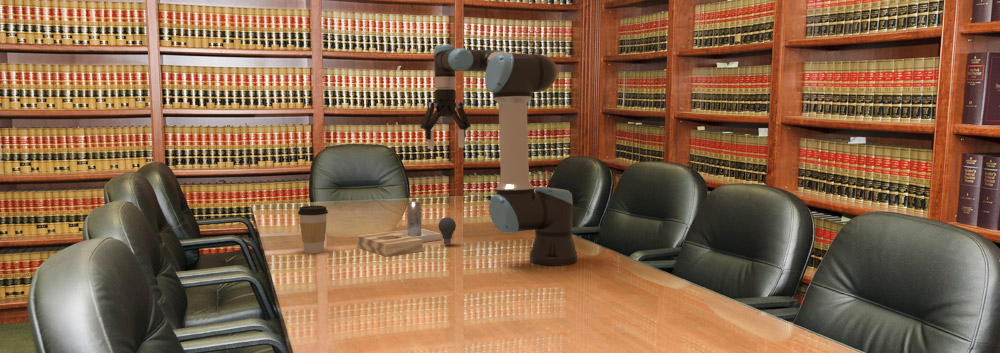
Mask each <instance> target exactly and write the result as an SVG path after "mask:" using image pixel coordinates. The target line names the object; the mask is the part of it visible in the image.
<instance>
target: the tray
mask: <svg viewBox="0 0 1000 353" xmlns="http://www.w3.org/2000/svg"><path fill="white" fill-rule="evenodd" d="M394 232H397V233H401V234H404V235H408V229H405V230H403V229H402V230H396V231H395V230H394ZM415 238H419V239H422V244H424V243H430V241H431V242H438V241H442V233H441V232H436V231H432V230H428V229H425V228H421V236H415ZM437 240H438V241H437ZM423 242H424V243H423Z"/></svg>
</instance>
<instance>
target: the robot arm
mask: <svg viewBox="0 0 1000 353" xmlns="http://www.w3.org/2000/svg"><path fill="white" fill-rule="evenodd" d="M433 61H434V63H433V64H434V88H435V91H434V100H435V102H428V103H427V110H426V112H425V114H424V117H423V120H422V122H421V125H420V129H422V130H424V131H425V139H426V140H427V150H434V149H435V147H434V146H435V145H434V144H435V142H434V141H435V140H434V130H432V129H433V127H435V125H436V123H437V122H438V120H440V119H439V118H440V117H442V116H450V117H451V118H452V119H453V120H454V122H455V123H456V125H457V126H458V130H457V132H458V133H457V136H458V137H457V138H458V140H457V141H458V144H457V146H458V148H465V139H466V137H467V132H466V131H467V130H468V128H471V123H470V121H469V119H468V117H467V115H466V112H465V109H464V104H463V102H461V101H458V102H456V99H457V91H456V87H457V84H456V83H457V81H456V79H457V78H456V72H485V74H484V75H485V76H484V84H485V86H486V90H487V91H489V92H490V93H492V94H493V100H494V101H495V102H496V103H497V104H498V129H499V130H498V132H499V160H500V162H499V163H500V183H499V185H498V186H497V187H496V188H495V189H496V190H495V191H496V192H495V194H493V195H492V196H491V198H490V201H489V204H488V207H489V214H490V219H491V221H492V223H493V226H495V228H496V229H497V230H498V231H500V232H502V233H515V234H516V233H517V232H526V231H534V232H535V233H534V234H535V235H534V240H533V242H532V247H531V251H530V252H529V261H530V262H531V263H534V264H537V265H543V266H545V265H546V266H565V265H572V264H576V263H577V262H578V252H577V250H576V249H577V248H576V245H575V242H574V239H573V206H574V204H573V194H572V192H571V191H570V190H567V189H562V188H556V187H545V186H537V187H534V186H533V184H531V183H530V174H529V173H530V170H529V169H530V168H529V166H530V165H529V164H530V163H529V137H528V136H529V134H528V133H529V132H528V130H529V129H528V102H530V100H531V99H533V98H532V95H533V94H532V93H540V92H544V91H546V90H548V89H549V88H551V87H552V86H553V85H554V83H555V81H556V80H557V76H558V69H557V65H556V63H555V62H554V61H553V60H552V59H551V58H550V57H548V56H546V55H544V54H538V53H534V54H533V53H532V54H531V53H517V52H516V53H514V52H513V53H512V52H505V51H503V50H498V49H493V50H491V49H468V48H463V47H461V48H460V47H459V48H455V46H454V45H452V44H450V45H449V44H441V45H439V44H437V45H436V46H435V47H434V50H433ZM435 109H436V110H435Z"/></svg>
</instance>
